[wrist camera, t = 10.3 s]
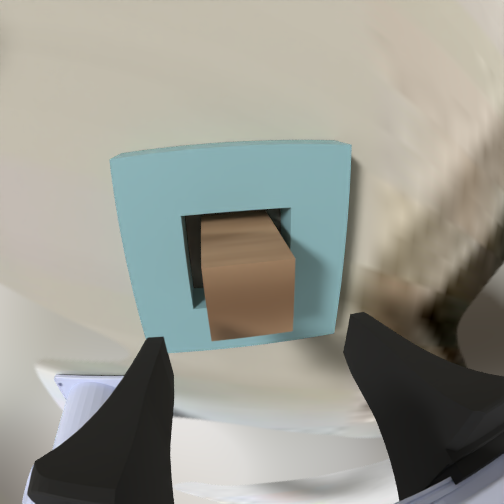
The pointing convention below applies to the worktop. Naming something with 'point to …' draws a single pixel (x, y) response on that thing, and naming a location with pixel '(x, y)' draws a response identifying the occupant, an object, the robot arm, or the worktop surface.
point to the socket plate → (227, 200)
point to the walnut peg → (246, 275)
